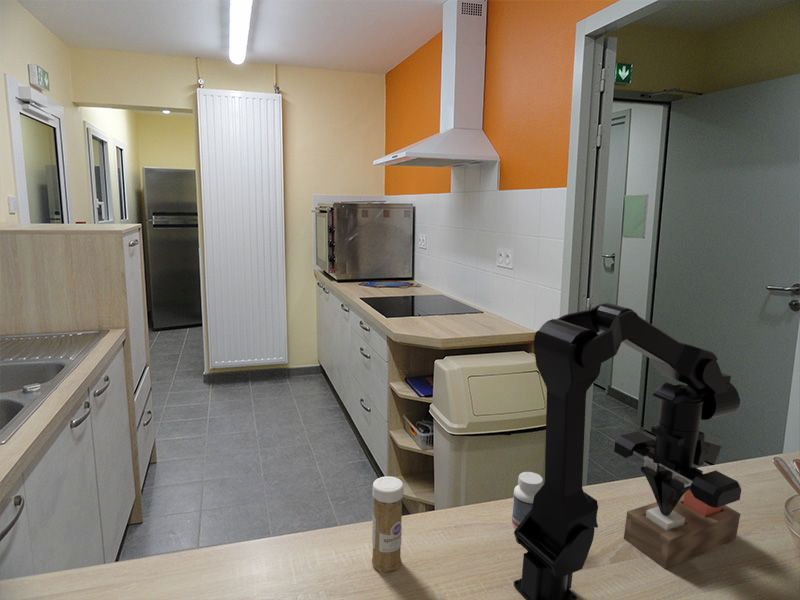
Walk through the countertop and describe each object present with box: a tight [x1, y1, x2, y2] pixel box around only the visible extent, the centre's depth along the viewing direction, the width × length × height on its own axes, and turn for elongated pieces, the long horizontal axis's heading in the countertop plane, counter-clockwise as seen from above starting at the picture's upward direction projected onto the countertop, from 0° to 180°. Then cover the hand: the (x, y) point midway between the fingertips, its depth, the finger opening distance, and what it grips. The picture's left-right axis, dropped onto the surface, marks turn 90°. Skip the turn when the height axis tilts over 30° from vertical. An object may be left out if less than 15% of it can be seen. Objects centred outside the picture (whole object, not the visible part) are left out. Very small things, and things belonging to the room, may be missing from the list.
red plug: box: [683, 490, 722, 517], centre depth 91 cm, size 4×4×5 cm
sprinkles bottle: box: [371, 476, 404, 573], centre depth 82 cm, size 5×5×13 cm
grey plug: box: [646, 506, 685, 531], centre depth 88 cm, size 4×4×5 cm
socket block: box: [623, 493, 741, 570], centre depth 90 cm, size 17×8×5 cm, turn 116°
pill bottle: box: [510, 471, 544, 529], centre depth 93 cm, size 5×5×9 cm
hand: (665, 514), depth 88 cm, fingers closed, pressing on grey plug
